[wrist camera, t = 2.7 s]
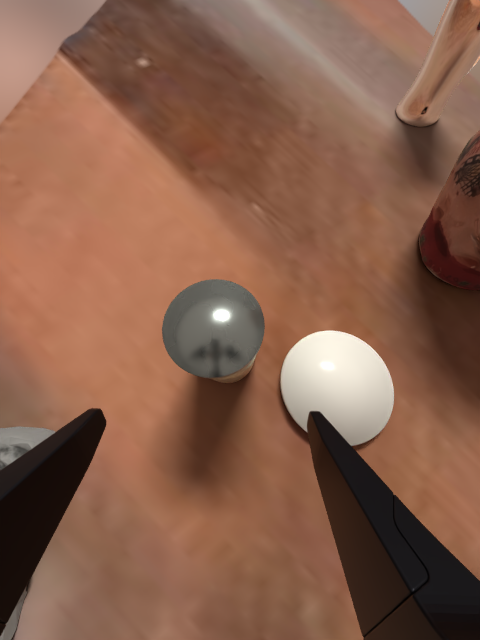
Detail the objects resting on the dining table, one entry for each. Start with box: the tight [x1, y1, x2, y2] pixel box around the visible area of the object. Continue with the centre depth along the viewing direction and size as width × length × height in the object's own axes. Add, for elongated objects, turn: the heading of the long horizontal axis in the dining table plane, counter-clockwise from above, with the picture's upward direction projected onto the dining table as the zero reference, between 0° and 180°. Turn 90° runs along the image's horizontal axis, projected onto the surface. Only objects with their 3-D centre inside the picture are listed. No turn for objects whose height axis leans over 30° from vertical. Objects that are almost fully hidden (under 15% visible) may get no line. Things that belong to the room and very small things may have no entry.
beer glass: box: [396, 0, 480, 127], centre depth 25 cm, size 7×7×15 cm
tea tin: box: [162, 279, 265, 383], centre depth 17 cm, size 6×6×10 cm
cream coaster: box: [280, 331, 394, 446], centre depth 20 cm, size 10×10×1 cm
